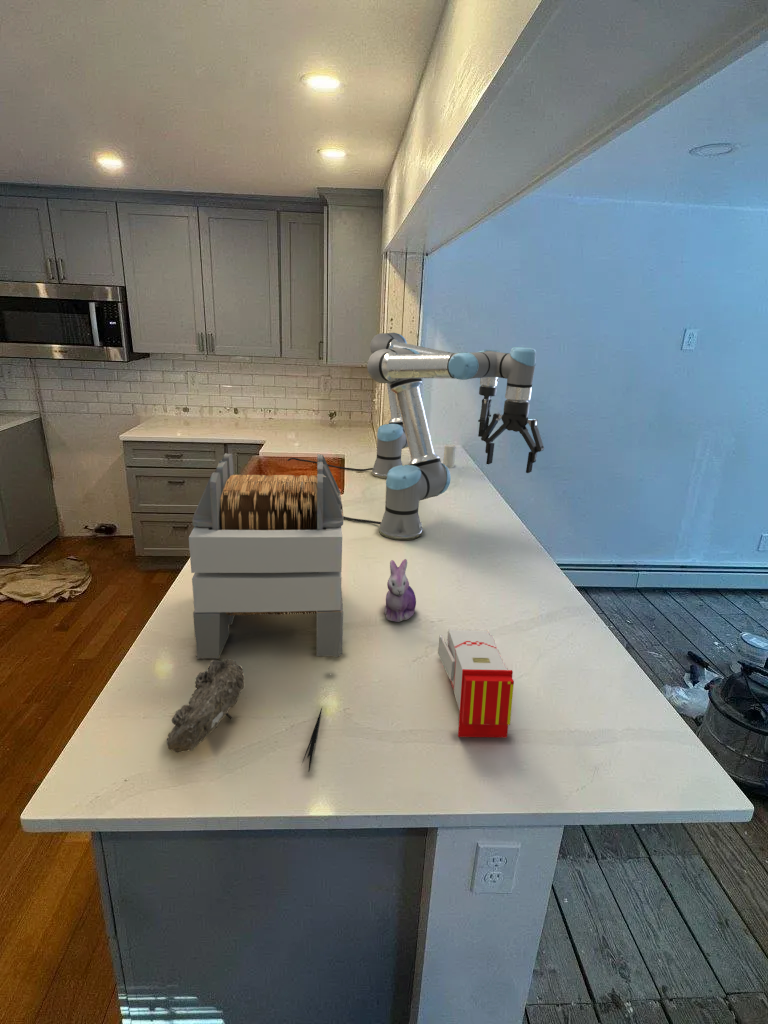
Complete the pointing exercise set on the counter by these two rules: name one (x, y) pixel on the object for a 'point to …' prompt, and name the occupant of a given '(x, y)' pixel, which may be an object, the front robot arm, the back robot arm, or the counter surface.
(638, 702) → the counter surface
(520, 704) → the counter surface
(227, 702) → the fossil
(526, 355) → the front robot arm
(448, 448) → the canister
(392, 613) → the figurine
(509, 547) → the counter surface
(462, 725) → the toy
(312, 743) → the feather
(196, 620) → the transformer
